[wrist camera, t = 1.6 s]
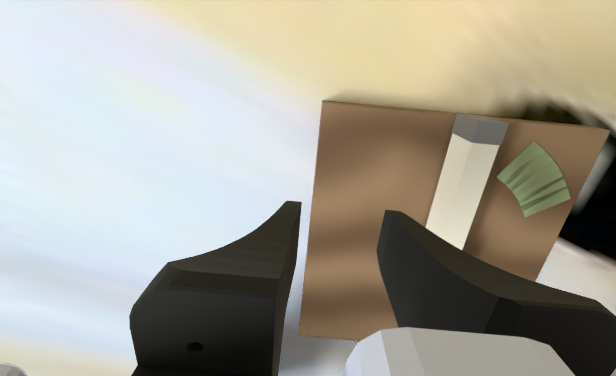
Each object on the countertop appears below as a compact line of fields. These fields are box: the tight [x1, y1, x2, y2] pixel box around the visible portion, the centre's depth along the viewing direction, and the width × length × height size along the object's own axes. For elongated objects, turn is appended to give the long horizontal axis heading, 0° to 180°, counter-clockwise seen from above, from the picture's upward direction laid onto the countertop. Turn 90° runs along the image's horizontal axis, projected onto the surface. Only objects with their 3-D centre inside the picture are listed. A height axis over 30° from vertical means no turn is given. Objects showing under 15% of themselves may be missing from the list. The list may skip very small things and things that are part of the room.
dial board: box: [299, 101, 610, 341], centre depth 22 cm, size 20×18×2 cm
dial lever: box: [425, 113, 509, 250], centre depth 19 cm, size 12×3×3 cm, turn 175°
